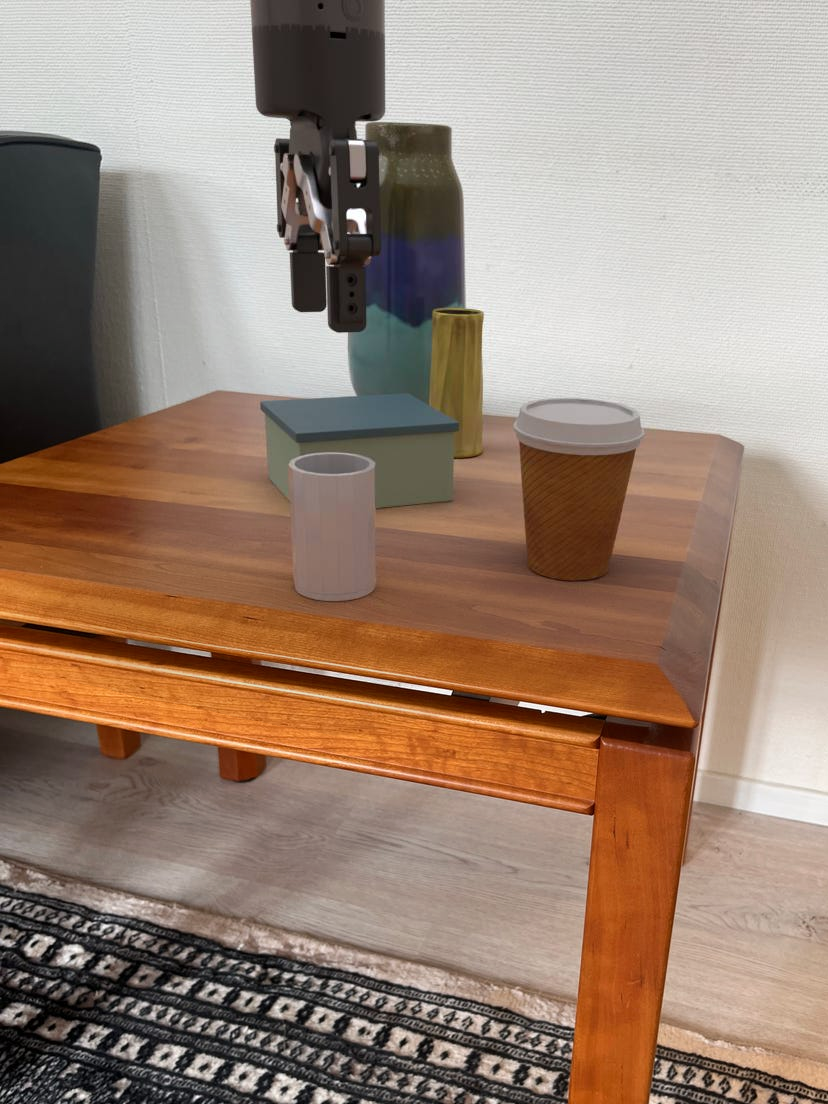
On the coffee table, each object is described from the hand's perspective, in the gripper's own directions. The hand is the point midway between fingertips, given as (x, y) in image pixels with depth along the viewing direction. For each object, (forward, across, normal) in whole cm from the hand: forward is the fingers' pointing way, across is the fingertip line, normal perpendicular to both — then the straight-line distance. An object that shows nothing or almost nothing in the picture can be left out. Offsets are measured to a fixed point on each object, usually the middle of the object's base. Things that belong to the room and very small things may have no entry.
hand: (327, 321), depth 65 cm
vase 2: (+19, -33, +23) cm, 44 cm away
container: (+18, -23, +9) cm, 31 cm away
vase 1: (+19, -50, +24) cm, 58 cm away
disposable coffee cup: (+19, +1, +18) cm, 26 cm away
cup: (+18, 0, 0) cm, 18 cm away
